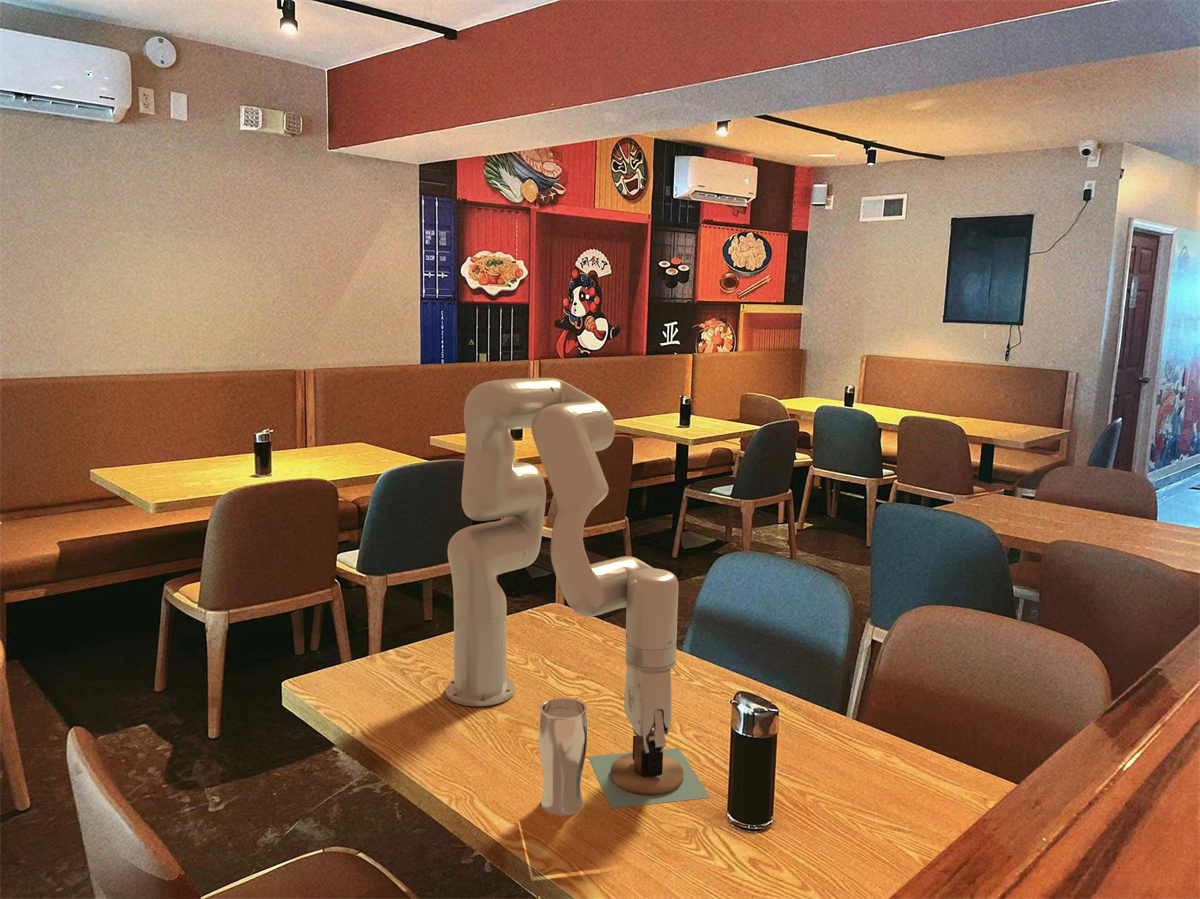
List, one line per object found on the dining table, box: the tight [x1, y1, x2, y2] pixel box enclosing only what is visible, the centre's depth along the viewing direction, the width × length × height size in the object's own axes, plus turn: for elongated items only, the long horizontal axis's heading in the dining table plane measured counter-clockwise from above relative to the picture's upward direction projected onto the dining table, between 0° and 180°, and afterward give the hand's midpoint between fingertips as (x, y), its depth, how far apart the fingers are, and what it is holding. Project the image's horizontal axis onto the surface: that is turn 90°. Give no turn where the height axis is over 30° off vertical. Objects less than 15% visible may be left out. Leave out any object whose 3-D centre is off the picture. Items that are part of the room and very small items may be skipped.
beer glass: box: [538, 697, 589, 817], centre depth 126 cm, size 7×7×15 cm
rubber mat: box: [587, 747, 711, 810], centre depth 135 cm, size 15×15×1 cm
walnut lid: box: [611, 735, 683, 796], centre depth 135 cm, size 11×11×6 cm
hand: (647, 766), depth 135 cm, fingers closed on walnut lid, 4 cm apart
